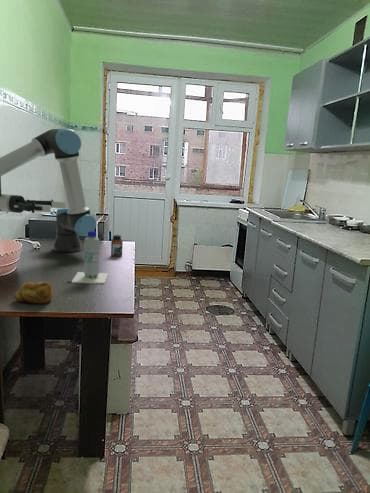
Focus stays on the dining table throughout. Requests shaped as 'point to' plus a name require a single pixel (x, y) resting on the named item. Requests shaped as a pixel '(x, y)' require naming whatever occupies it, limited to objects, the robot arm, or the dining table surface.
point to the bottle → (91, 255)
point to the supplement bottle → (116, 246)
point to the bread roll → (34, 293)
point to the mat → (81, 278)
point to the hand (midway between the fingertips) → (58, 207)
